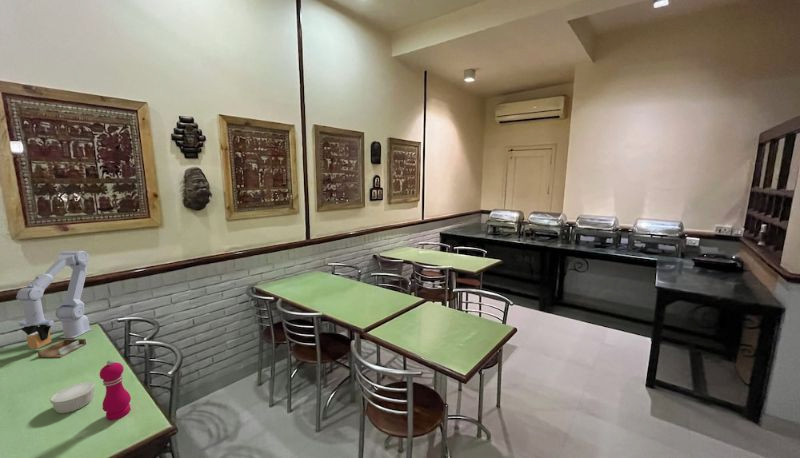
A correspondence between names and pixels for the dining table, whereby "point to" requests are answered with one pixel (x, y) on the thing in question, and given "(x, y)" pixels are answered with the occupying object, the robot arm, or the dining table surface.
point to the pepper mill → (114, 391)
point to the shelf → (62, 348)
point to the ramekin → (73, 397)
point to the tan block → (37, 340)
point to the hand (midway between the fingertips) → (39, 339)
